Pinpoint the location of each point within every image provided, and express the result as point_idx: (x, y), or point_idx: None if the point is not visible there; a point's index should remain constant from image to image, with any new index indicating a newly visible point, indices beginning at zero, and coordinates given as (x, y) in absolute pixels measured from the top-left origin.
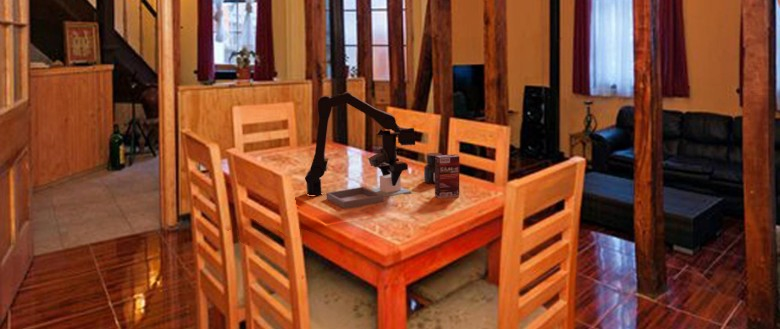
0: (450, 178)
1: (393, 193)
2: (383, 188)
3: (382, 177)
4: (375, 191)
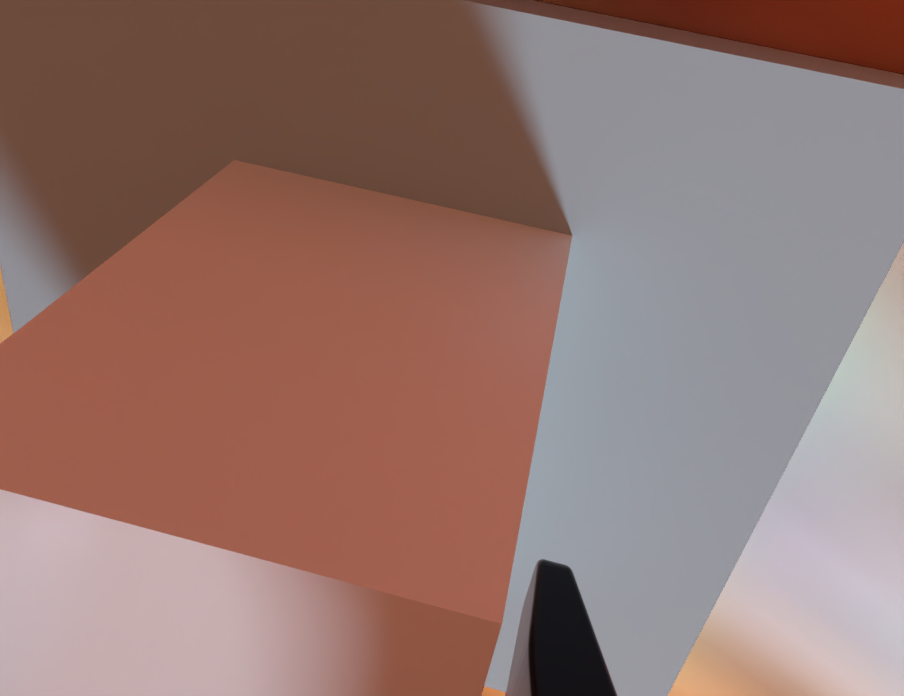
0: None
1: (63, 254)
2: (306, 230)
3: (164, 514)
4: (598, 52)
